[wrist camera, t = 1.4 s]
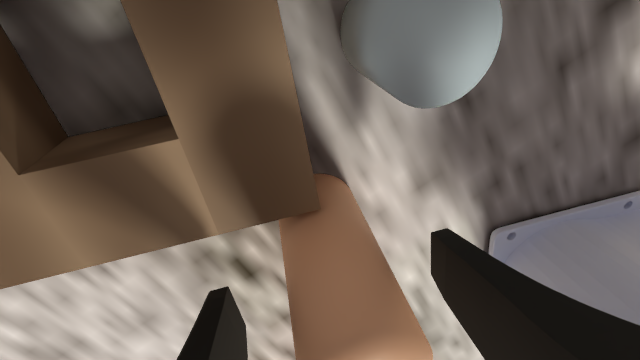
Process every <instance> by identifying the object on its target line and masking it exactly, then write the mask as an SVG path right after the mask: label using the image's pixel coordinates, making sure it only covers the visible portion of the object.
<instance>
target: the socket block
mask: <svg viewBox="0 0 640 360" xmlns="http://www.w3.org/2000/svg"><path fill="white" fill-rule="evenodd" d="M120 1H121V3H122V5H123V8H124V10H125V13H126V15H127V17H128V20H129V22H130V24H131V27H132V29H133V32H134V34H135V36H136V39H137V41H138V43H139V46H140V48H141V51H142V53H143V55H144V58H145V60H146V62H147V65H148V67H149V70H150V72H151V74H152V77H153V79H154V81H155V84H156V86H157V89H158V91H159V93H160V96H161V98H162V100H163V103H164V105H165V108H166V110H167V112H168V115H166V116H162V117H157V118H153V119H148V120H143V121H139V122H134V123H130V124H125V125H121V126H116V127H112V128H107V129H103V130H98V131H94V132H89V133H85V134H80V135H76V136H71V137H67V135H66V133H65V132H64V130H63V128H62V127H61V125H60V123H59V122H58V120H57V118H56V117H55V115H54V113H53V112H52V110H51V108H50V107H49V105H48V103H47V102H46V100H45V99H44V97H43V95H42V94H41V92H40V90H39V89H38V87H37V85H36V84H35V82H34V80H33V79H32V77H31V75H30V74H29V72H28V70H27V69H26V67H25V65H24V64H23V62H22V60H21V59H20V57H19V55H18V54H17V52H16V51H15V49H14V47H13V46H12V44H11V42H10V41H9V39H8V37H7V36H6V34H5V32H4V31H3V29H2V27H1V26H0V289H3V288H7V287H11V286H15V285H19V284H23V283H27V282H31V281H35V280H39V279H43V278H47V277H51V276H55V275H59V274H63V273H67V272H71V271H75V270H79V269H83V268H87V267H91V266H95V265H99V264H103V263H107V262H111V261H115V260H119V259H123V258H127V257H131V256H135V255H139V254H143V253H147V252H151V251H155V250H159V249H163V248H167V247H171V246H175V245H179V244H183V243H187V242H191V241H195V240H199V239H203V238H207V237H211V236H215V235H219V234H223V233H227V232H231V231H235V230H239V229H243V228H247V227H251V226H255V225H259V224H263V223H267V222H271V221H275V220H279V219H283V218H287V217H291V216H295V215H299V214H303V213H307V212H311V211H315V210H319V209H321V208H320V203H319V198H318V194H317V189H316V184H315V179H314V175H313V170H312V165H311V160H310V155H309V151H308V146H307V141H306V136H305V132H304V127H303V122H302V117H301V112H300V108H299V103H298V98H297V93H296V89H295V84H294V79H293V74H292V69H291V65H290V60H289V55H288V50H287V46H286V41H285V36H284V31H283V26H282V22H281V17H280V12H279V7H278V3H277V0H120Z"/></svg>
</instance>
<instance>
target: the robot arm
mask: <svg viewBox="0 0 640 360" xmlns="http://www.w3.org/2000/svg"><path fill="white" fill-rule="evenodd" d="M431 275H432V277H433V279H434V281H435V283H436V285H437V287H438V289H439V290H440V292H441V294H442V296H443V298H444V300H445V301H446V303H447V304H448V306H449V307H450V309H451V310H452V312H453V313H454V315H455V316H456V318H457V319H458V321H459V322H460V324H461V325H462V327H463V328H464V330H465V331H466V332H467V334H468V335H469V337H470V338H471V340H472V341H473V343H474V344H475V346H476V347H477V349H478V350H479V351H480V353H481V354H482V356H483V357H484V359H485V360H640V191H636V192H632V193H629V194H625V195H621V196H617V197H613V198H610V199H606V200H602V201H598V202H595V203H591V204H587V205H583V206H579V207H576V208H572V209H568V210H564V211H561V212H557V213H553V214H549V215H545V216H542V217H538V218H534V219H530V220H527V221H523V222H519V223H515V224H511V225H508V226H504V227H500V228H497V229H495V230H494V231H493V232H492V234H491V237H490V244H489V253H486V252H484V251H483V250H481V249H479V248H478V247H476V246H475V245H473V244H472V243H470V242H468V241H467V240H465V239H464V238H462V237H461V236H459V235H457V234H456V233H454V232H453V231H451V230H449V229H448V228H446V229H443V230H439V231H435V232H431ZM247 358H248V354H247V338H246V325H245V323H244V320H243V318H242V316H241V314H240V311H239V309H238V307H237V305H236V303H235V300H234V298H233V296H232V294H231V292H230V289H229V287H224V288H220V289H217V290H213V291H210V292H209V294H208V296H207V298H206V300H205V302H204V304H203V307H202V309H201V311H200V313H199V315H198V318H197V320H196V322H195V324H194V326H193V328H192V330H191V332H190V334H189V336H188V338H187V340H186V342H185V344H184V346H183V348H182V350H181V352H180V354H179V356H178V358H177V360H247Z"/></svg>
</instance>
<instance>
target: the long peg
mask: <svg viewBox="0 0 640 360" xmlns="http://www.w3.org/2000/svg"><path fill="white" fill-rule="evenodd" d="M313 175H314V179H315V184H316V189H317V194H318V198H319V203H320V208H321V209H319V210H315V211H311V212H307V213H303V214H299V215H295V216H291V217H287V218H283V219H279V227H280V235H281V243H282V251H283V259H284V267H285V275H286V283H287V291H288V299H289V307H290V315H291V324H292V332H293V340H294V348H295V356H296V360H433V353H432V349H431V346H430V344H429V343H428V341H427V339H426V337H425V335H424V333H423V331H422V329H421V327H420V325H419V323H418V321H417V319H416V317H415V315H414V313H413V311H412V309H411V307H410V305H409V303H408V302H407V300H406V298H405V296H404V294H403V292H402V290H401V288H400V286H399V284H398V282H397V280H396V278H395V276H394V274H393V272H392V270H391V268H390V266H389V264H388V263H387V261H386V259H385V257H384V255H383V253H382V251H381V249H380V247H379V245H378V243H377V241H376V239H375V237H374V235H373V233H372V231H371V229H370V227H369V225H368V223H367V222H366V220H365V218H364V216H363V214H362V212H361V210H360V208H359V206H358V204H357V202H356V200H355V198H354V196H353V194H352V192H351V190H350V189H349V187H348V186H347V185H346V184H345V183H344V182H343V181H342V180H340V179H339V178H337V177H335V176H332V175H328V174H313Z"/></svg>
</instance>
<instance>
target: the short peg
mask: <svg viewBox="0 0 640 360" xmlns="http://www.w3.org/2000/svg"><path fill="white" fill-rule="evenodd" d="M502 21H503V19H502V9H501V4H500V0H349V2H348V3H347V5H346V8H345V10H344V13H343V16H342V21H341V29H340V36H341V44H342V48H343V51H344V54H345V56H346V58H347V60H348V61H349V63H350V64H351V65H352V66H353V67H354V68H355V69H356V70H357V71H358V72H359V73H361V74H362V75H364V76H365V77H366V78H368V79H369V80H371V81H372V82H374V83H375V84H376V85H378V86H379V87H381V88H382V89H384V90H385V91H386V92H388V93H389V94H391V95H392V96H394V97H395V98H396V99H398V100H399V101H401V102H403V103H405V104H407V105H409V106H412V107H416V108H436V107H441V106H444V105H447V104H449V103H452V102H454V101H456V100H458V99H459V98H461V97H462V96H464V95H465V94H467V93H468V92H469V91H470V90H471V89H472V88H474V87H475V86H476V84H477V83H478V82H479V81H480V80H481V79H482V77H483V76H484V75H485V74H486V72H487V70H488V69H489V67H490V66H491V64H492V62H493V60H494V58H495V55H496V53H497V50H498V47H499V43H500V39H501V33H502Z"/></svg>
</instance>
